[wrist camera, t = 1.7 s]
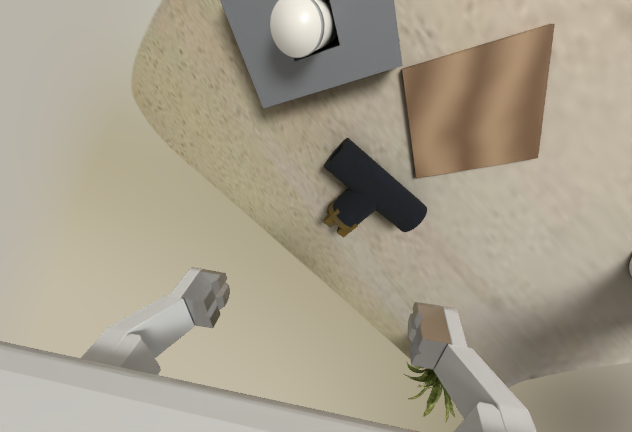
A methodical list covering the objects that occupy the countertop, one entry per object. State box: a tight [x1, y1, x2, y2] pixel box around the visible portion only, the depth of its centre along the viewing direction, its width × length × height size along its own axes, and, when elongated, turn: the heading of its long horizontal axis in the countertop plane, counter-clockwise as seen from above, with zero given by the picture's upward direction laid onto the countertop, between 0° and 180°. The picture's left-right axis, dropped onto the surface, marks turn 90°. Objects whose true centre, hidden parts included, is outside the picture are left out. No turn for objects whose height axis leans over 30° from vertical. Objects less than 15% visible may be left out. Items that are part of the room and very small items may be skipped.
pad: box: [402, 24, 554, 178], centre depth 32 cm, size 14×14×1 cm
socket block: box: [220, 0, 402, 109], centre depth 29 cm, size 16×12×5 cm
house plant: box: [406, 363, 455, 421], centre depth 50 cm, size 14×14×16 cm
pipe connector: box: [324, 138, 427, 237], centre depth 41 cm, size 12×5×15 cm
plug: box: [270, 0, 337, 58], centre depth 27 cm, size 4×4×10 cm
